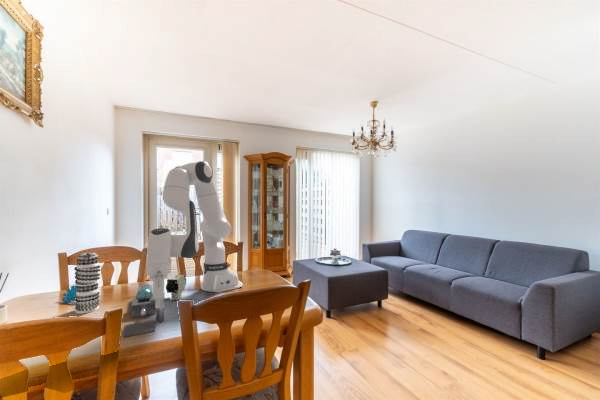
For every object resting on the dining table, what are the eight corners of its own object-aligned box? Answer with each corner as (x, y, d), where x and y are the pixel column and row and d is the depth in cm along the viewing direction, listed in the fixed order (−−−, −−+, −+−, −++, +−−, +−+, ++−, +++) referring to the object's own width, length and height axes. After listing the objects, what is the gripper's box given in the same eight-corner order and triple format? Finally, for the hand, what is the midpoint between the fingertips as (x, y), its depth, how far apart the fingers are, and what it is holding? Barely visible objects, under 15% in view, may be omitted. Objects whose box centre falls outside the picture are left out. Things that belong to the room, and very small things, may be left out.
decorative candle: (84, 315, 115) (85, 255, 115) (68, 312, 118) (69, 254, 118) (105, 306, 124) (105, 251, 124) (89, 304, 126) (90, 250, 126)
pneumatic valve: (165, 303, 129) (165, 278, 129) (177, 294, 140) (177, 271, 140) (176, 303, 129) (177, 278, 129) (187, 295, 140) (188, 271, 140)
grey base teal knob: (154, 296, 137) (155, 282, 137) (155, 319, 112) (156, 302, 112) (134, 299, 133) (134, 285, 133) (130, 323, 108) (130, 306, 108)
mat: (154, 320, 110) (154, 319, 110) (154, 331, 102) (154, 330, 102) (125, 326, 106) (125, 325, 106) (122, 337, 97) (122, 336, 97)
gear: (56, 298, 129) (75, 280, 135) (66, 304, 133) (83, 286, 139) (69, 305, 124) (87, 286, 130) (78, 311, 128) (96, 292, 134)
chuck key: (169, 317, 114) (169, 291, 114) (169, 320, 111) (170, 293, 111) (150, 321, 110) (150, 293, 110) (150, 324, 108) (150, 296, 108)
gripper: (168, 274, 103) (167, 311, 103) (166, 263, 121) (165, 294, 121) (149, 276, 100) (148, 314, 100) (150, 264, 118) (149, 296, 118)
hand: (157, 303), depth 110 cm, fingers open, 8 cm apart
